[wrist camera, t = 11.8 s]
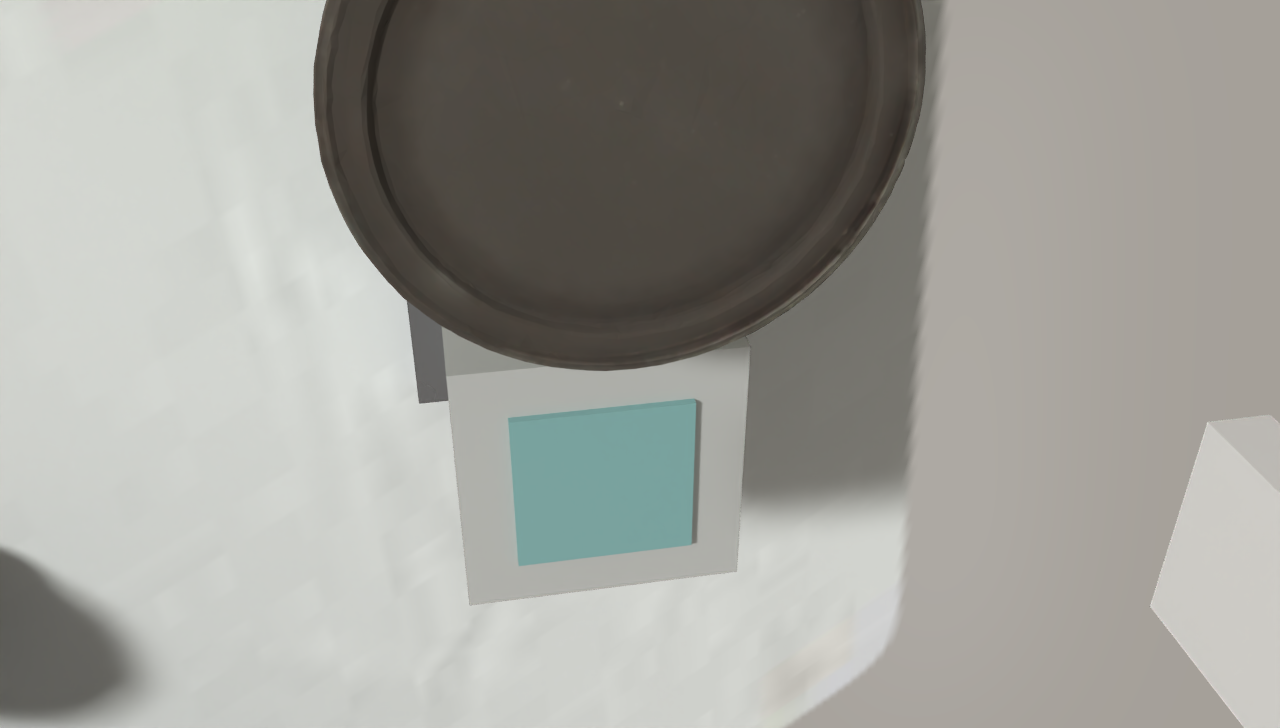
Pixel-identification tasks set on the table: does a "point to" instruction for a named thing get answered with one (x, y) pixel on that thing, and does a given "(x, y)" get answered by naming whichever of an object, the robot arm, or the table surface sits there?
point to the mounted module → (595, 470)
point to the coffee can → (613, 160)
